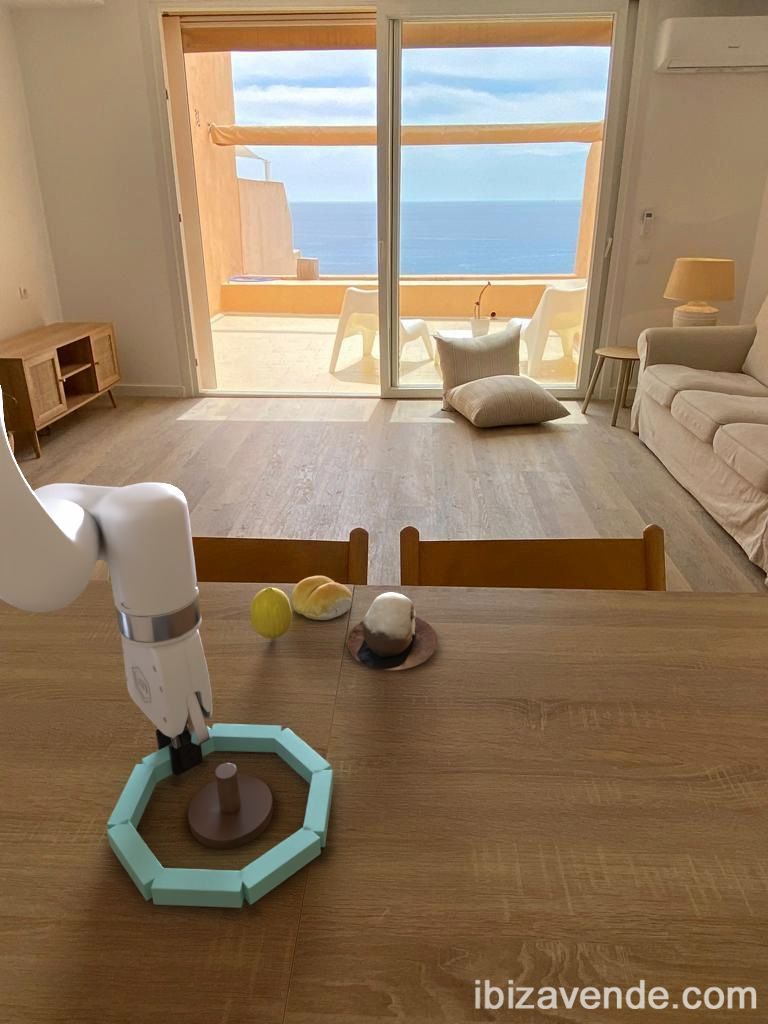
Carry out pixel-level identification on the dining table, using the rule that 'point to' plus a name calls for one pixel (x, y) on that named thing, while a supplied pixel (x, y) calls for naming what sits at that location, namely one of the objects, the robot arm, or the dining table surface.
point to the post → (230, 809)
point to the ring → (223, 884)
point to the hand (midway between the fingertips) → (181, 759)
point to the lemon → (271, 613)
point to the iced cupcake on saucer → (392, 635)
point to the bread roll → (321, 598)
